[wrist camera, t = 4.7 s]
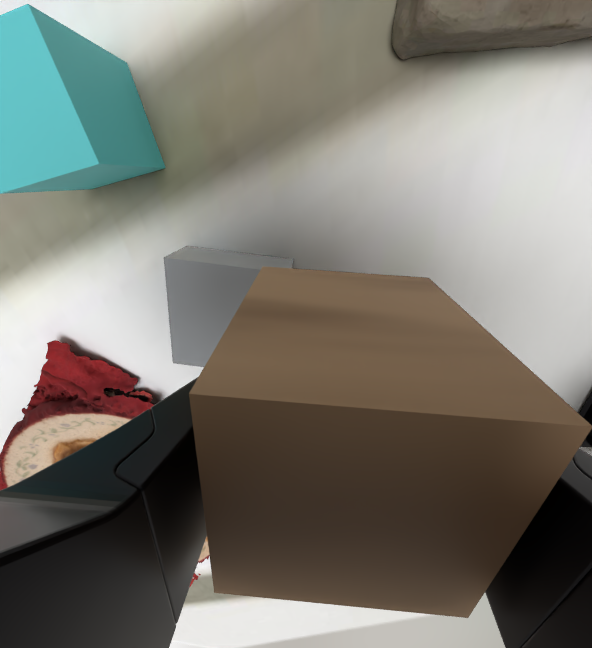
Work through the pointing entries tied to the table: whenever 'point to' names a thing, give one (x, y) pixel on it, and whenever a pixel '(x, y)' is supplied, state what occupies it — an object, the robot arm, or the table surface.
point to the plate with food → (70, 415)
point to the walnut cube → (369, 445)
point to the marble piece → (486, 24)
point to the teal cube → (66, 110)
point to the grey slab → (207, 296)
